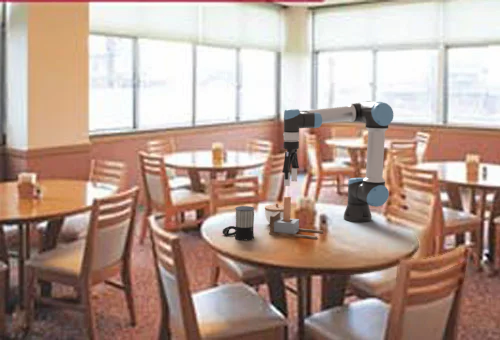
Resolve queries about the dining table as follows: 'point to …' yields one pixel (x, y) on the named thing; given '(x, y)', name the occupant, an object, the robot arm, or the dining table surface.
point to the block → (286, 226)
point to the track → (277, 216)
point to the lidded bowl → (273, 210)
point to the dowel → (287, 209)
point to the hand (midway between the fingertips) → (290, 183)
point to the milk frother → (242, 224)
